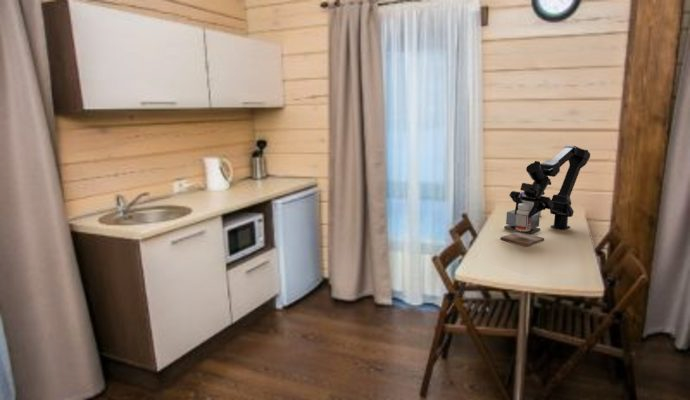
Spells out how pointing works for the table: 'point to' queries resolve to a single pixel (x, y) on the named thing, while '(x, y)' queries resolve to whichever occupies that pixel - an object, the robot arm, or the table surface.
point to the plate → (522, 238)
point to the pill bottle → (523, 217)
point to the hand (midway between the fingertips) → (521, 215)
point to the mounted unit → (512, 222)
